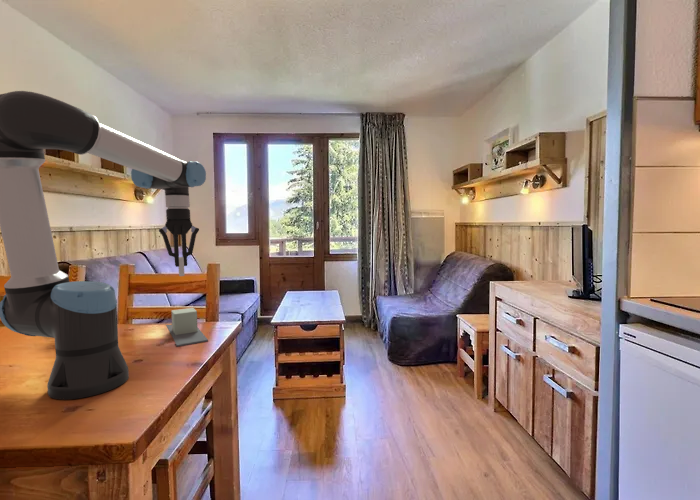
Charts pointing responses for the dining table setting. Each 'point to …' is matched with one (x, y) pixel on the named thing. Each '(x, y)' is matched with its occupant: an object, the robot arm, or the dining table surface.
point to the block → (184, 321)
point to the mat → (187, 337)
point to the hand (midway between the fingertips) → (181, 275)
